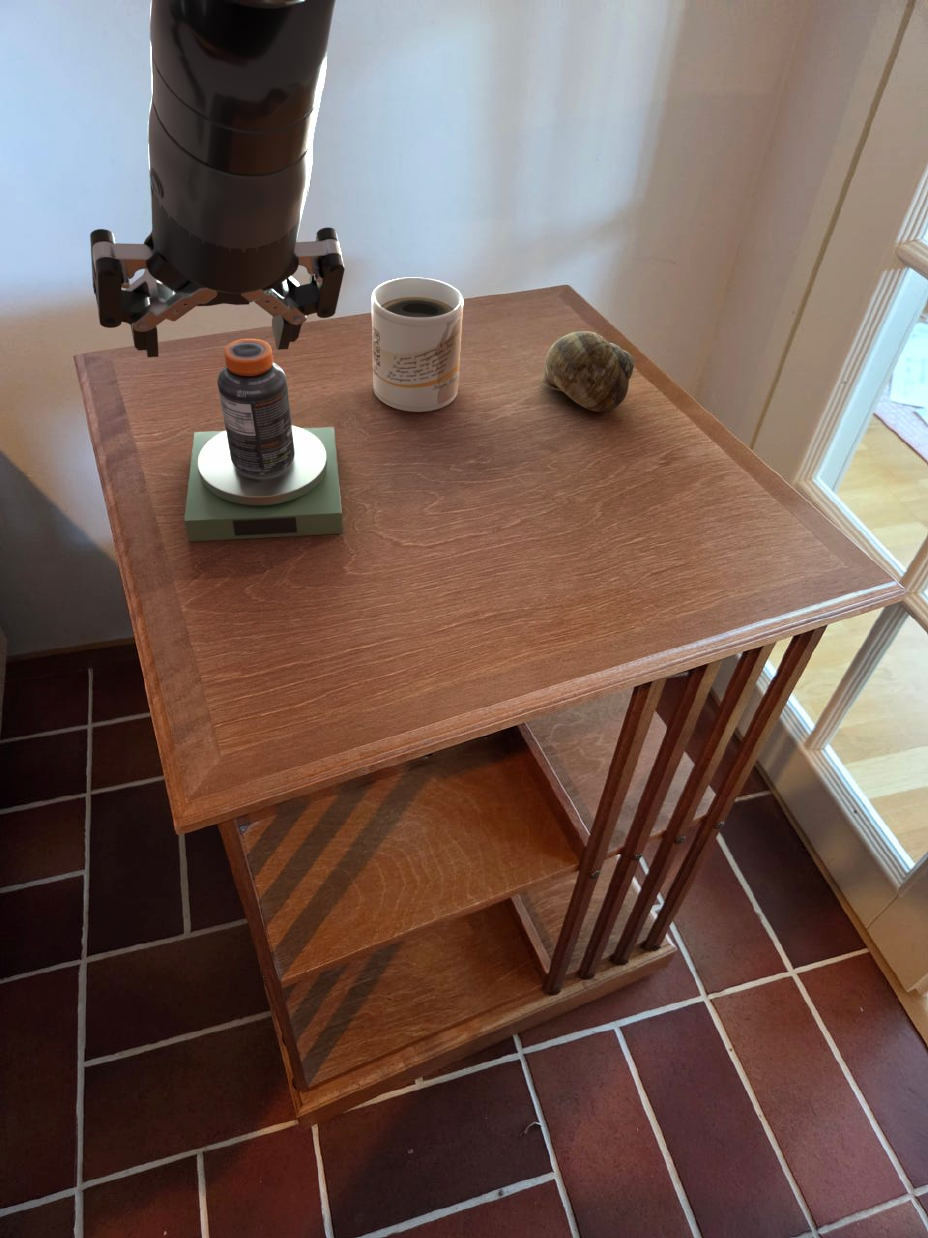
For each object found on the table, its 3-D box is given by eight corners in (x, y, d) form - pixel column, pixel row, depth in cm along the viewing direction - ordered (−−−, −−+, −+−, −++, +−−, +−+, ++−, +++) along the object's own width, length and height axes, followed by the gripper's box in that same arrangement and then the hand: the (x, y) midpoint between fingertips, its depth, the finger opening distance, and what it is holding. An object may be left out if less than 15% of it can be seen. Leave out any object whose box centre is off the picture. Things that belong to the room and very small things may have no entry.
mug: (353, 398, 94) (349, 304, 86) (396, 350, 102) (396, 260, 94) (439, 420, 92) (443, 326, 84) (476, 370, 100) (483, 280, 92)
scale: (188, 542, 76) (180, 508, 73) (198, 452, 85) (191, 418, 82) (343, 534, 78) (341, 500, 75) (335, 447, 88) (333, 414, 85)
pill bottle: (289, 436, 81) (277, 328, 73) (300, 472, 78) (289, 361, 69) (227, 444, 80) (208, 334, 72) (235, 481, 76) (216, 369, 68)
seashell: (638, 419, 95) (654, 355, 89) (562, 428, 93) (573, 363, 87) (599, 369, 102) (611, 306, 96) (528, 376, 100) (536, 313, 94)
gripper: (352, 115, 44) (308, 286, 59) (60, 102, 39) (93, 293, 54) (382, 243, 43) (330, 384, 58) (88, 247, 38) (113, 400, 53)
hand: (216, 340), depth 56 cm, fingers open, 8 cm apart
